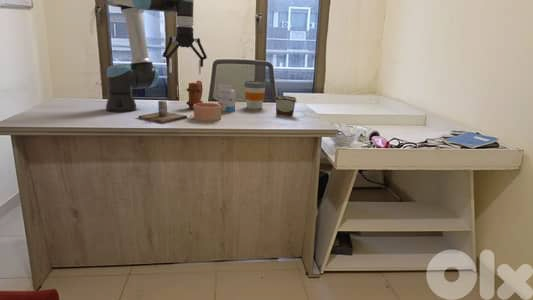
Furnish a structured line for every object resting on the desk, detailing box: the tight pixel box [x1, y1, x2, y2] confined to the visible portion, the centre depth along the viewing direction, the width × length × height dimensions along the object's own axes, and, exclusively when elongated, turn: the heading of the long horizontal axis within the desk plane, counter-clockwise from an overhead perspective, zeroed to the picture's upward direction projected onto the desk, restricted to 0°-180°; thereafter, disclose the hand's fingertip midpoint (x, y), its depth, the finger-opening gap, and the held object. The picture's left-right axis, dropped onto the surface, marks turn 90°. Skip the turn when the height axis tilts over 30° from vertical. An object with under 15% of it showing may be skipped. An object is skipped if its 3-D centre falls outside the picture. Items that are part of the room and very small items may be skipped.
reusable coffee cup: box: [243, 80, 267, 110], centre depth 226 cm, size 13×13×15 cm
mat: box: [133, 116, 191, 126], centre depth 186 cm, size 19×19×1 cm
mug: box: [186, 80, 204, 110], centre depth 216 cm, size 15×8×15 cm, turn 168°
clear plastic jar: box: [217, 83, 236, 113], centre depth 213 cm, size 9×5×15 cm, turn 68°
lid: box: [138, 100, 188, 124], centre depth 185 cm, size 16×16×8 cm
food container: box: [274, 95, 297, 117], centre depth 209 cm, size 12×6×10 cm, turn 65°
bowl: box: [193, 102, 222, 122], centre depth 190 cm, size 13×13×7 cm
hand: (185, 73), depth 183 cm, fingers open, 13 cm apart
